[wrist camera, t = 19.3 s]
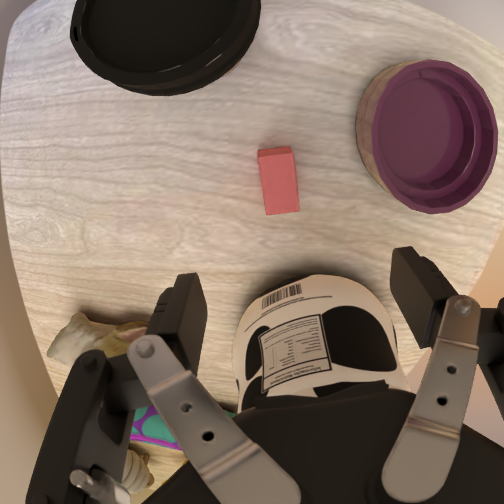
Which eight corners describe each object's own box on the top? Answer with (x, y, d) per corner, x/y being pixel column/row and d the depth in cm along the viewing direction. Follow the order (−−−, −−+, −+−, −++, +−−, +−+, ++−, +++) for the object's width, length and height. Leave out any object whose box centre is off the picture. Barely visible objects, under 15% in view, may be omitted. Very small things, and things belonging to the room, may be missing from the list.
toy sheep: (145, 465, 60) (137, 503, 50) (85, 433, 54) (72, 472, 44) (170, 459, 56) (163, 501, 47) (105, 424, 50) (90, 470, 41)
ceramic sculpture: (31, 334, 26) (164, 371, 29) (62, 286, 34) (176, 314, 36) (50, 389, 31) (160, 420, 34) (71, 343, 39) (168, 368, 41)
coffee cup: (152, 19, 20) (57, -30, 7) (249, -4, 20) (240, -93, 6) (170, 104, 24) (81, 124, 11) (267, 83, 24) (280, 71, 10)
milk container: (330, 383, 41) (350, 498, 25) (213, 350, 38) (195, 485, 22) (408, 292, 33) (475, 418, 18) (275, 235, 30) (291, 394, 14)
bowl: (346, 60, 22) (363, 55, 18) (468, 69, 21) (495, 70, 17) (357, 201, 28) (373, 220, 24) (468, 192, 27) (492, 208, 23)
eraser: (257, 149, 26) (257, 156, 24) (289, 146, 26) (293, 152, 24) (265, 203, 29) (266, 215, 26) (295, 199, 28) (299, 211, 26)
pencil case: (250, 403, 43) (248, 459, 35) (234, 427, 48) (230, 477, 39) (114, 366, 40) (93, 420, 32) (114, 396, 45) (98, 443, 36)
